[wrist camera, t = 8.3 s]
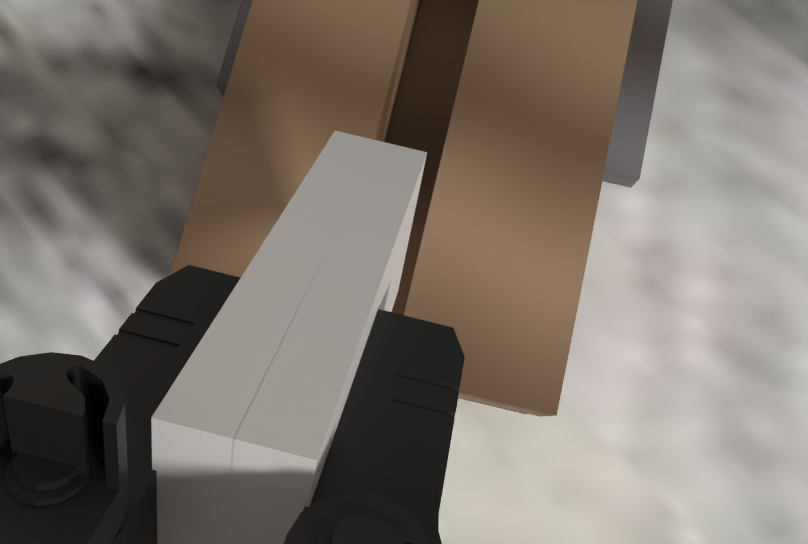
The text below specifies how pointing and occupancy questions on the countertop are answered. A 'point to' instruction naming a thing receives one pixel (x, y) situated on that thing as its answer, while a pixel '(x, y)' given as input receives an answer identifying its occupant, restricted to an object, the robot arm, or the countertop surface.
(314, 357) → the robot arm
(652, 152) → the countertop surface
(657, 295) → the countertop surface
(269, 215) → the balance beam
